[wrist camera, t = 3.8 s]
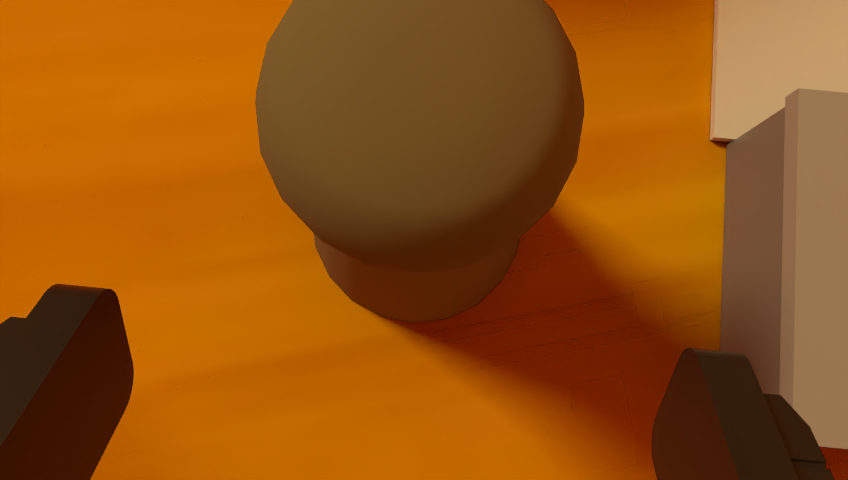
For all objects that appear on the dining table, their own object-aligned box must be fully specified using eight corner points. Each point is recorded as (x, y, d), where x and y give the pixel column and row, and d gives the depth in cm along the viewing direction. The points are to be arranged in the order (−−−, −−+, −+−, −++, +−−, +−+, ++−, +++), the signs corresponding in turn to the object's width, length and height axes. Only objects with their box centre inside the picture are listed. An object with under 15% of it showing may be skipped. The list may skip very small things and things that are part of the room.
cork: (522, 118, 21) (635, -121, 11) (521, 325, 20) (643, 296, 10) (317, 112, 21) (216, -135, 10) (306, 320, 20) (184, 284, 10)
